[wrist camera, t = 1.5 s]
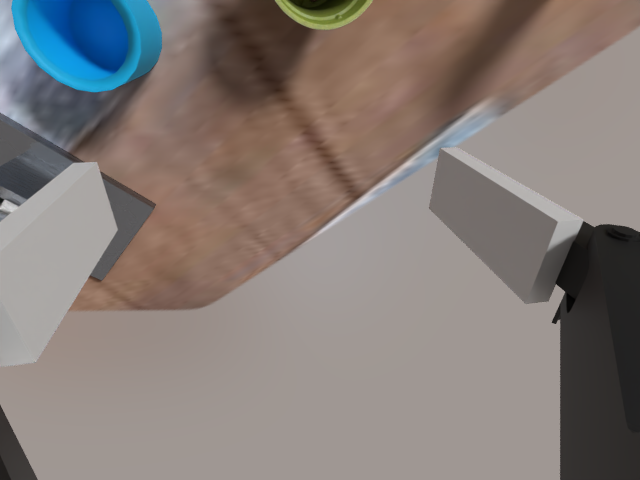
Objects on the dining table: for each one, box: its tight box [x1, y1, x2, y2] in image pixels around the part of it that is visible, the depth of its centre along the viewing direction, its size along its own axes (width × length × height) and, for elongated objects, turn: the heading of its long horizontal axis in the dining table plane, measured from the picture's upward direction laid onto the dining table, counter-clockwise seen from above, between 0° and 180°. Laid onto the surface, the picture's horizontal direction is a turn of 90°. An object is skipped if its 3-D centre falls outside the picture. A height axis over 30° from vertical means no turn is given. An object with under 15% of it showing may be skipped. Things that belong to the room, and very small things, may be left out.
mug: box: [11, 0, 162, 92], centre depth 28 cm, size 12×8×8 cm
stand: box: [0, 113, 156, 280], centre depth 35 cm, size 18×12×10 cm, turn 48°
